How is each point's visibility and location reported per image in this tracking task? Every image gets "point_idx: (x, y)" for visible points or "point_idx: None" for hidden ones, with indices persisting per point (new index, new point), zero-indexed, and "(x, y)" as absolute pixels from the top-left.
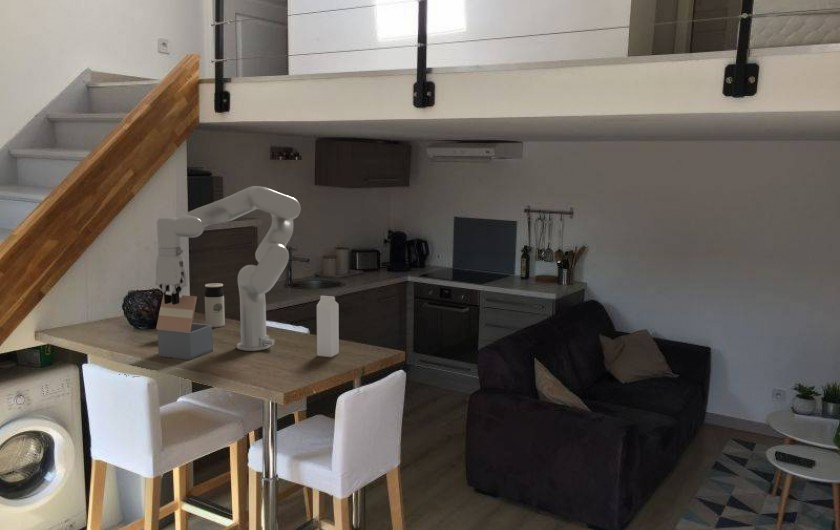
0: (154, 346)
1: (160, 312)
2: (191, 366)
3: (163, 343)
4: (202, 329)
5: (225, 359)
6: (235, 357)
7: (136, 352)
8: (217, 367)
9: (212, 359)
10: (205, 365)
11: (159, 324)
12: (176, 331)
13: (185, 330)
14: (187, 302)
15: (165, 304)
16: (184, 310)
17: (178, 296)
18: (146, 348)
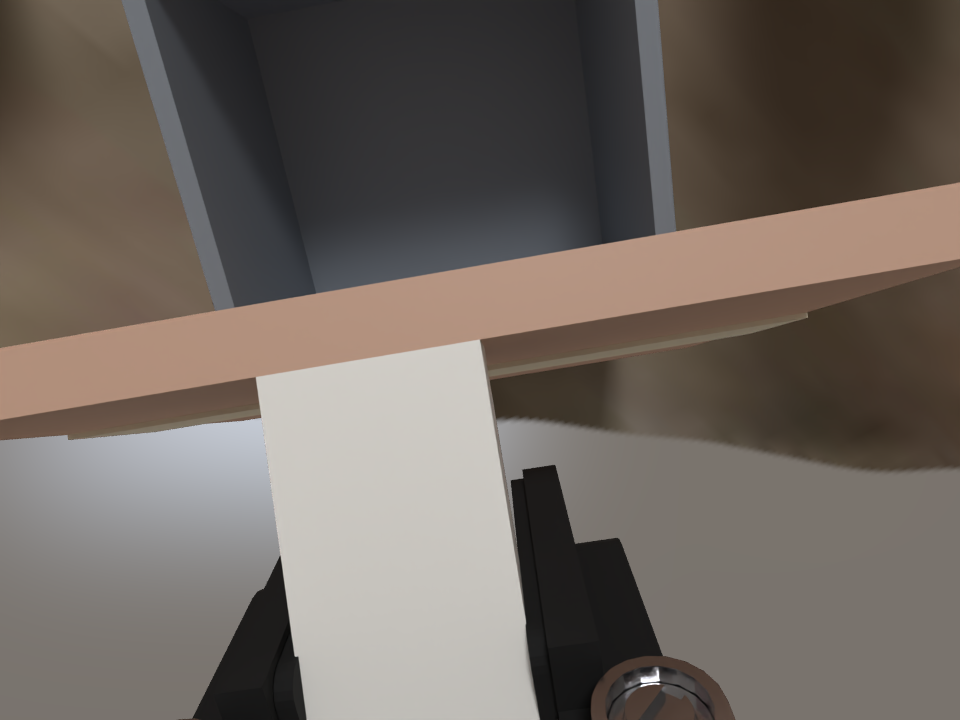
0: (6, 118)
1: (150, 430)
2: (736, 383)
3: None
4: (659, 72)
5: (858, 104)
6: (904, 3)
7: (78, 332)
8: (928, 307)
9: (758, 163)
10: (813, 315)
11: (254, 416)
12: None
13: (643, 353)
14: (679, 325)
15: (125, 420)
16: (612, 350)
17: (645, 634)
18: (19, 205)
